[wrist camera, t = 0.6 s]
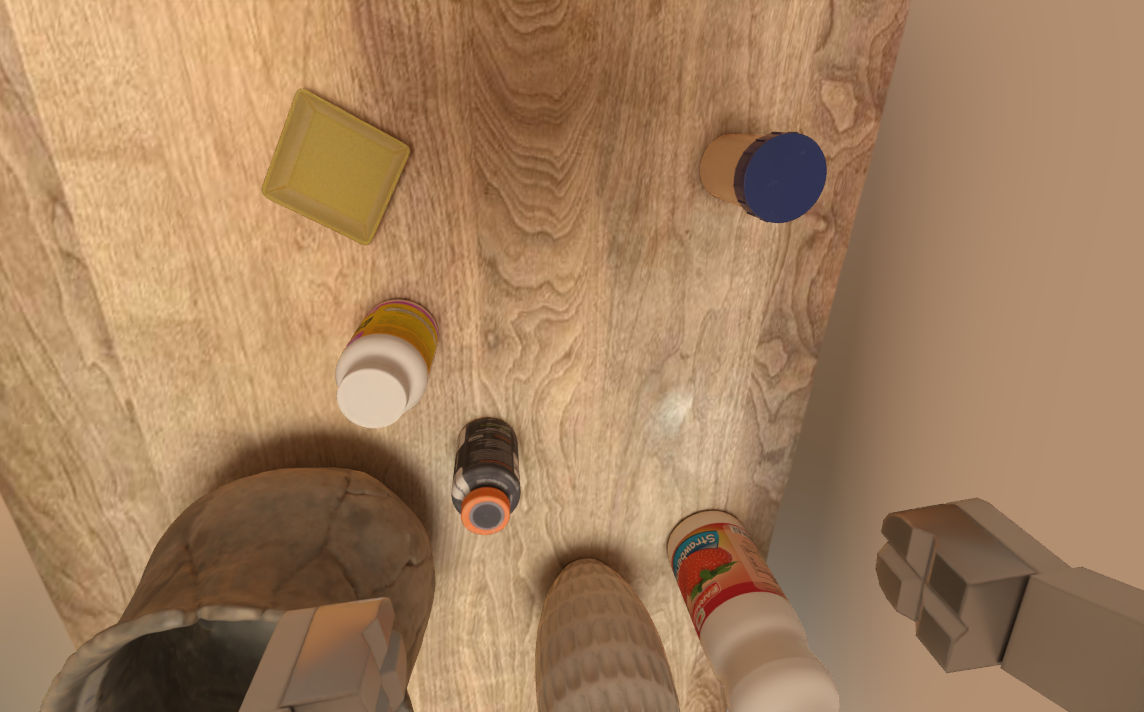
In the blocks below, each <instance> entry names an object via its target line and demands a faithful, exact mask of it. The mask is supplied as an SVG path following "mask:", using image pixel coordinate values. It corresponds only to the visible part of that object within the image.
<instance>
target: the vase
mask: <svg viewBox="0 0 1144 712" xmlns="http://www.w3.org/2000/svg"><path fill="white" fill-rule="evenodd" d="M535 682H536V696H537V706H538V712H680V708H679V701H678V697H677V693H676V689H675V685H674V681H673V677H672V673H671V670H670V666H669V663H668V660H667V657H666V653H665V650H664V647H663V644H662V642H661V639H660V637H659V634H658V632H657V629H656V627H655V625H654V623H653V621H652V619H651V617H650V615H649V613H648V611H647V609H646V607H645V606H644V604H643V603H642V601H641V600H640V598H639V597H638V595H637V594H636V593H635V591H634V590H633V589H632V588H631V586H630V585H629V584H628V583H627V582H626V581H625V580H624V579H623V578H622V576H621V575H619V574H618V573H617V572H615V571H614V570H613V569H611V568H610V567H609V566H607V565H606V564H604V563H602V562H601V561H598V560H595V559H580V560H576V561H574V562H572V563H570V564H568V565H567V566H566V567H565V568H564V569H563V570H562V571H561V573H560V574H559V576H558V577H557V578H556V580H555V582H554V583H553V585H552V587H551V588H550V590H549V592H548V595H547V598H546V600H545V603H544V606H543V609H542V613H541V617H540V622H539V626H538V630H537V640H536V652H535Z"/></svg>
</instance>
